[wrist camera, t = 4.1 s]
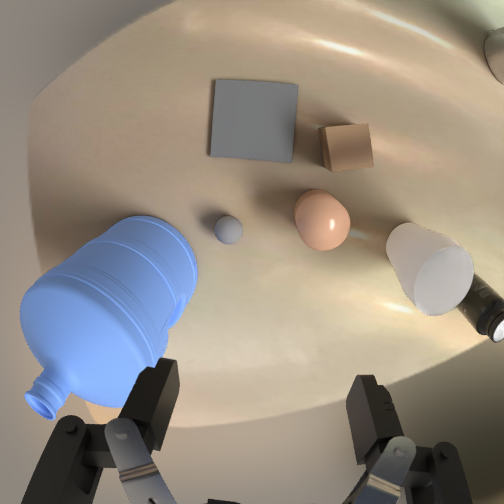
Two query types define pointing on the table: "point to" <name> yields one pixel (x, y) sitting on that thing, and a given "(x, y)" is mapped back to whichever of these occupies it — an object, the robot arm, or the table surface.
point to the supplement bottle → (484, 309)
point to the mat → (254, 120)
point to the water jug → (106, 313)
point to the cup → (430, 267)
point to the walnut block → (346, 147)
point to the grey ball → (228, 230)
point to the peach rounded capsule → (321, 220)
